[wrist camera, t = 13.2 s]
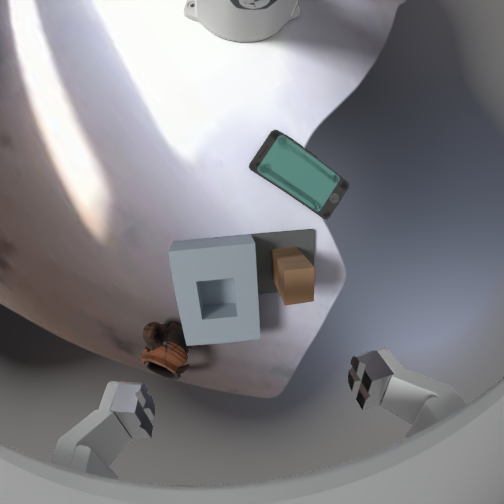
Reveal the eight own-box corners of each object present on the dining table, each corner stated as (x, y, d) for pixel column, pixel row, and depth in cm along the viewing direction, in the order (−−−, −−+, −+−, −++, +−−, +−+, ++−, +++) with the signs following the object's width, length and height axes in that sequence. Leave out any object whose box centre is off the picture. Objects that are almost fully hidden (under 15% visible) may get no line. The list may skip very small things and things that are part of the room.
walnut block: (271, 248, 43) (284, 270, 34) (295, 246, 43) (314, 267, 35) (272, 278, 44) (285, 305, 36) (296, 275, 45) (313, 301, 36)
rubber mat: (250, 234, 42) (251, 235, 42) (312, 228, 43) (313, 229, 43) (254, 292, 45) (254, 294, 45) (311, 285, 46) (312, 286, 46)
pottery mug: (207, 346, 48) (193, 385, 42) (169, 343, 52) (154, 377, 46) (173, 306, 42) (152, 349, 36) (135, 306, 45) (114, 343, 39)
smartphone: (327, 221, 42) (248, 167, 38) (324, 219, 43) (247, 167, 39) (351, 183, 41) (275, 126, 37) (348, 182, 42) (273, 127, 38)
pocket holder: (173, 241, 41) (168, 251, 36) (250, 234, 42) (255, 243, 37) (188, 328, 46) (186, 345, 41) (256, 322, 47) (260, 338, 43)
